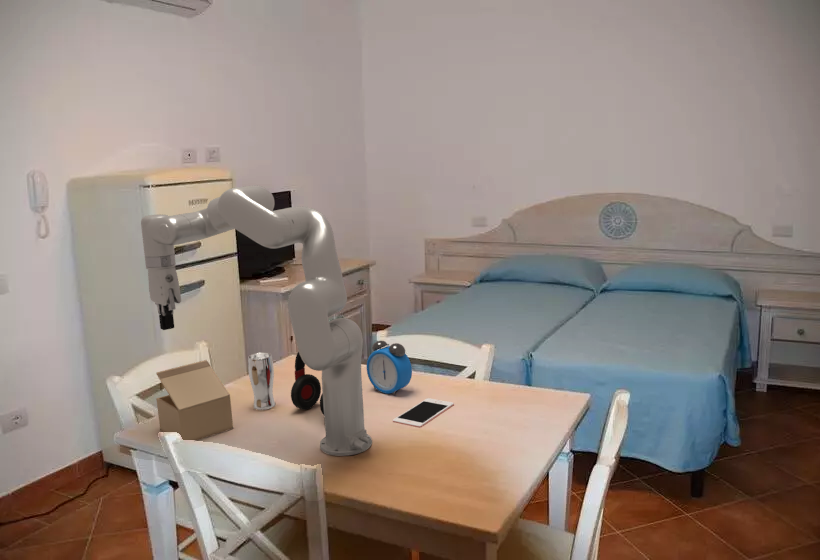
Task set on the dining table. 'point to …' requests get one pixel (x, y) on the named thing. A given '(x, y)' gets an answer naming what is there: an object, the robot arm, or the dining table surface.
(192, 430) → the carton
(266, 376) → the beer glass
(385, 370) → the alarm clock
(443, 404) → the cell phone
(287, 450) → the dining table surface
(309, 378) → the headphones
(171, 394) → the lid
